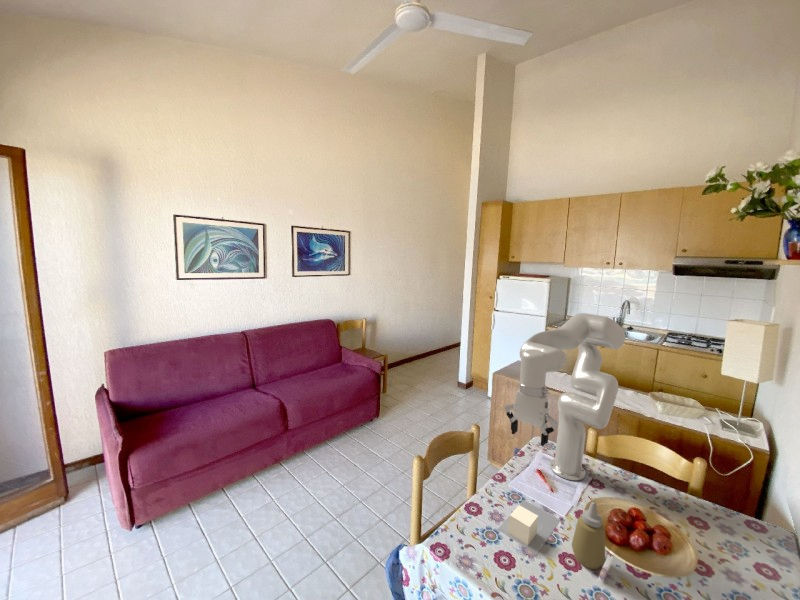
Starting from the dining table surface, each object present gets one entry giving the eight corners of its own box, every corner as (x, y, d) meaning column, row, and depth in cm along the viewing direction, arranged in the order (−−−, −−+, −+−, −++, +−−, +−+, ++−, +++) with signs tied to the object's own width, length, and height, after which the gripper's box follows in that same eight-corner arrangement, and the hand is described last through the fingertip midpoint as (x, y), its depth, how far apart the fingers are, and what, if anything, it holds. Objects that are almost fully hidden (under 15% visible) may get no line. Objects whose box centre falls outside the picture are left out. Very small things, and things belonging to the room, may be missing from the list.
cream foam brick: (517, 522, 106) (519, 505, 105) (536, 533, 102) (538, 515, 101) (508, 533, 102) (509, 515, 101) (527, 545, 98) (529, 527, 97)
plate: (523, 503, 116) (523, 499, 116) (560, 523, 108) (560, 520, 108) (497, 532, 103) (497, 529, 103) (536, 558, 95) (536, 554, 95)
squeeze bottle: (586, 579, 90) (594, 517, 87) (563, 553, 97) (570, 495, 95) (610, 572, 92) (618, 511, 89) (586, 546, 99) (593, 490, 97)
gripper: (564, 393, 105) (560, 444, 108) (511, 378, 117) (508, 424, 120) (555, 401, 100) (551, 454, 103) (500, 384, 111) (498, 432, 114)
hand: (528, 438), depth 111 cm, fingers open, 9 cm apart
